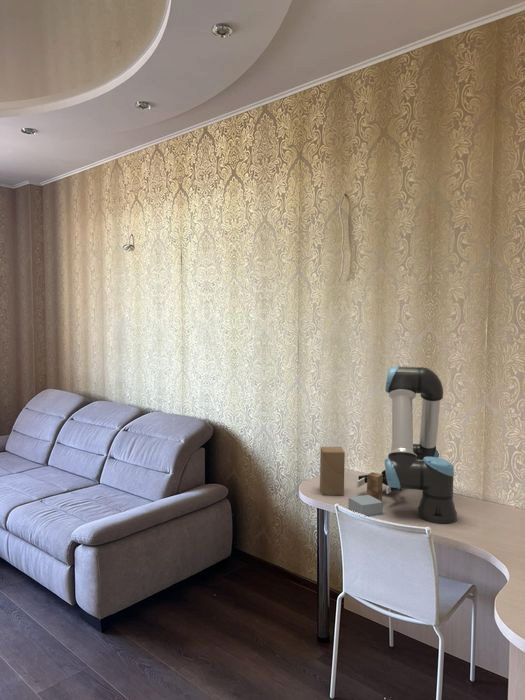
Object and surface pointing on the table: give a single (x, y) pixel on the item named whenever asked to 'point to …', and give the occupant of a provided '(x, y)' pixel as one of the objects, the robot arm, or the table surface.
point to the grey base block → (366, 505)
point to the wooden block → (332, 470)
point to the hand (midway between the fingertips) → (372, 487)
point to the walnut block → (375, 485)
